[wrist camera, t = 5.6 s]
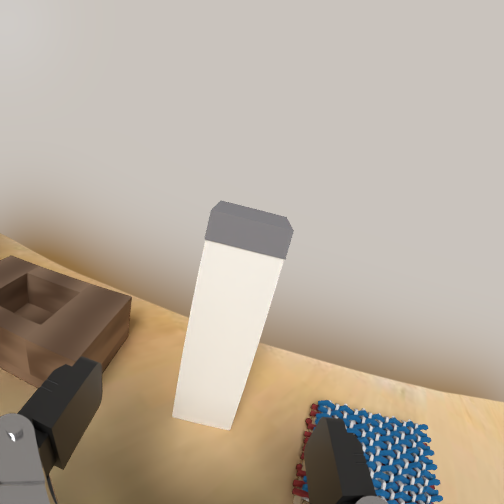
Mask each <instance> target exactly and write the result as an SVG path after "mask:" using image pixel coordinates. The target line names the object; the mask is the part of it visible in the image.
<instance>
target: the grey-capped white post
mask: <svg viewBox="0 0 504 504" xmlns="http://www.w3.org/2000/svg"><path fill="white" fill-rule="evenodd" d="M292 234H293V229H292V227H291V225H290V223H289V221H288V219H287V217H284V216H279V215H276V214H272V213H268V212H264V211H260V210H257V209H252V208H249V207H244V206H241V205H237V204H233V203H229V202H224V201H220V202H219V203H218V204H217V205H216V206H215V207H214V208H213V209H212V210H211V213H210V217H209V222H208V226H207V230H206V235H205V245H204V249H203V254H202V259H201V263H200V268H199V272H198V277H197V282H196V287H195V292H194V297H193V302H192V307H191V312H190V317H189V322H188V327H187V333H186V338H185V343H184V349H183V354H182V360H181V366H180V371H179V377H178V383H177V389H176V395H175V401H174V408H173V414H172V417H175V418H178V419H182V420H186V421H190V422H194V423H198V424H202V425H207V426H211V427H216V428H220V429H225V430H230V429H231V426H232V423H233V420H234V417H235V414H236V411H237V408H238V405H239V402H240V399H241V396H242V393H243V390H244V387H245V384H246V381H247V378H248V375H249V372H250V369H251V366H252V362H253V359H254V356H255V353H256V350H257V347H258V344H259V340H260V337H261V334H262V331H263V327H264V324H265V321H266V318H267V315H268V311H269V308H270V305H271V302H272V298H273V295H274V292H275V288H276V285H277V282H278V278H279V275H280V272H281V268H282V265H283V261H284V259H286V255H287V252H288V248H289V245H290V241H291V238H292Z"/></svg>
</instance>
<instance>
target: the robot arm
mask: <svg viewBox="0 0 504 504" xmlns="http://www.w3.org/2000/svg"><path fill="white" fill-rule="evenodd" d="M101 399H102V365H101V363H99V362H96V361H94V360H91V359H89V358H86V357H83V356H81V357H80V358H79V359H78V360H77V361H76V362H75V364H74V365H73V366H70V365H67V364H65V365H63V366H61V367H59V368H57V369H55V370H54V371H53V372H52V373H51V374H50V375H49V377H48V378H47V380H45V381H44V382H43V384H42V385H41V387H39V388H38V389H37V391H36V392H35V393H34V394H33V395H32V397H31V398H30V399H29V400H28V402H27V403H26V404H25V405H24V406H23V408H22V409H21V410H20V411H19V412H18V413H17V414H15V413H10V414H5V415H3V416H1V417H0V504H59V503H58V500H57V497H56V494H55V490H54V487H53V484H52V480H51V476H50V471H51V469H52V468H53V466H57V467H59V468H61V469H63V470H64V468H65V466H66V464H67V462H68V461H69V459H70V457H71V455H72V453H73V451H74V450H75V448H76V446H77V444H78V443H79V441H80V439H81V437H82V436H83V434H84V432H85V430H86V429H87V427H88V425H89V423H90V422H91V420H92V418H93V416H94V415H95V413H96V411H97V410H98V408H99V406H100V403H101ZM304 461H305V469H306V478H307V486H308V494H309V503H310V504H388V503H387V502H386V501H385V500H384V499H382V498H379V497H377V495H376V492H375V488H374V485H373V481H372V478H371V475H370V471H369V468H368V465H367V464H366V463H367V461H366V458H365V456H364V452H363V448H362V445H361V442H360V441H359V440H358V439H357V437H356V436H355V435H354V434H353V433H348V432H347V430H346V426H345V423H344V420H343V419H340V418H330V417H322V418H321V419H320V420H319V422H318V424H317V425H316V427H315V429H314V431H313V432H312V434H311V436H310V438H309V439H308V441H307V443H306V446H305V450H304Z"/></svg>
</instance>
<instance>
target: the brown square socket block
mask: <svg viewBox="0 0 504 504" xmlns="http://www.w3.org/2000/svg"><path fill="white" fill-rule="evenodd" d="M131 300H132V297H131V296H128V295H124V294H121V293H118V292H115V291H111V290H108V289H105V288H102V287H99V286H96V285H93V284H90V283H87V282H84V281H81V280H78V279H75V278H72V277H69V276H66V275H63V274H60V273H57V272H54V271H52V270H49V269H46V268H43V267H40V266H38V265H35V264H32V263H30V262H27V261H24V260H22V259H19V258H16V257H14V256H9V257H7V258H4V259H2V260H0V368H2V369H4V370H6V371H7V372H9V373H11V374H13V375H15V376H16V377H18V378H20V379H22V380H24V381H26V382H28V383H29V384H31V385H33V386H35V387H37V388H39V387H41V385H42V384H43V382H44V381H45V380H47V378H48V377H49V375H50V374H51V373H52V372H53V371H54V370H55V369H57V368H59V367H61V366H63V365H65V364H67V365H70V366H73V365H74V364H75V362H76V361H77V360H78V359H79V358H80V357H81V356H83V357H86V358H89V359H91V360H94V361H96V362H99V363H101V365H102V373H103V372H104V370H105V369H106V367H107V366H108V364H109V363H110V361H111V360H112V358H113V357H114V356H115V354H116V353H117V351H118V350H119V348H120V347H121V345H122V344H123V343H124V341H125V340H126V338H127V337H128V332H129V320H130V309H131Z"/></svg>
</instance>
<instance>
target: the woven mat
mask: <svg viewBox="0 0 504 504" xmlns="http://www.w3.org/2000/svg"><path fill="white" fill-rule="evenodd" d="M335 405H336V406H335ZM335 405H334V404H333V403H332V401H331V400H329V401H328V400H325V401H318V405H316V404H312V407H311V409H313V410H311V413H310V416H312V418H311V419H310V418H307V419H306V423H307V424H308V427H307V428H308V429H309V432H307V431H305V433H304V436H305V437H306V438H305V440H304V443H307V441H308V439H309V438H310V436H311V434H312V432H313V431H314V429H315V427H316V425H317V424H318V422H319V420H320V419H321V418H322V417H330V418H338V417H339V418H340V419H343V420H344V423H345V426H347V427H346V430H347V432H348V433H353V434H354V435H355V436H356V437H357V439H358V440H359V441H360V442H361V445H362V448H363V452H364V456H365V458H366V461H367V463H366V464H367V465H368V468H369V471H370V475H371V478H372V481H373V485H374V488H375V492H376V495H377V497H379V498H382V499H384V500H385V501H386V502H387V503H388V504H433V503H432V502H435V501H438V502H440V501H442V500H443V497H442V496H440V495H438V490H434V489H435V487H434V485H437V486H438V485H439V484H440V480H437V479H435V478H436V476H435V474H431V473H430V472H428V471H427V470H436V469H437V465H435V464H433V460H429V459H428V457H425V456H427V455H430V456H432V455H434V451H432V450H430V446H427V443H423V442H428V443H429V442H431V438H429V437H427V434H424V433H423V432H422V431H420V430H422V429H424V430H427V429H428V426H427V425H425V424H422V425H418V424H417V423H413V422H412V421H411V420H408V422H405V421H403V420H401V421H402V422H403V423H400V422H399V421H398V420H397V419H396V418H395V416H392V418H390V419H389V417H387V416H385V417H384V418H383V417H382V416H381V414H380V413H378V414H374V415H372V413H370V412H366V411H365V409H364V408H362V409H361V411H358V409H354V411H355V412H354V411H352V410H351V409H350V408H349V407H348V406H347V404H344V406H339V404H337V403H336V404H335ZM326 406H327V408H326ZM340 411H342V412H343V413H342V412H340ZM320 412H322V413H320ZM361 418H362V419H361ZM375 419H376V420H377V421H376V420H375ZM390 423H391V424H390ZM358 429H360V430H358ZM386 431H387V432H386ZM383 441H384V442H383ZM305 446H306V445H304V447H303V451H304V450H305ZM411 453H412V454H411ZM384 456H386V457H384ZM301 459H303V462H302V464H298V465H297V466H296V469H297V470H298V472H297V476H299V480H294V482H293V486H295V487H297V488H294V489H293V491H292V494H295V495H294V502H293V504H301V503H302V501H303V499H304V500H306V501H308V502H309V494H308V486H307V478H306V469H305V461H304V453H302V455H301ZM408 460H409V461H408ZM423 462H424V463H423ZM412 468H413V469H412ZM426 492H427V493H426ZM428 493H429V494H428Z"/></svg>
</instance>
